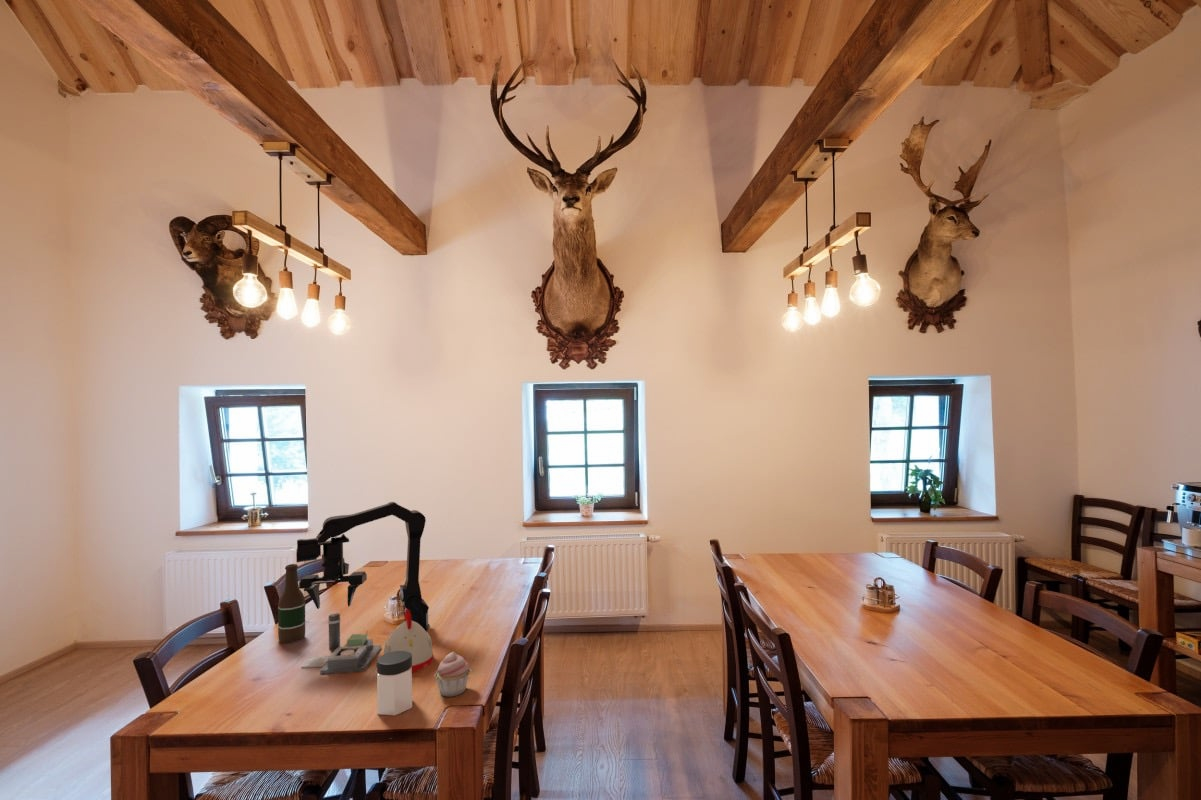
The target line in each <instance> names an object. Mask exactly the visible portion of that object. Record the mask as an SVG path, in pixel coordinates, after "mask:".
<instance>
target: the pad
mask: <svg viewBox="0 0 1201 800" xmlns="http://www.w3.org/2000/svg"><path fill="white" fill-rule="evenodd" d="M328 657H329V656H320V657H319V656H317V657H310V658H309V659H308V660H307V661H306V662H305V663H303V665H302V666H301V669H307V668H321V667H322V668H323V667H324V666H325V665H326V664H327V662H328Z"/></svg>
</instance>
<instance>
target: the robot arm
mask: <svg viewBox="0 0 1201 800" xmlns="http://www.w3.org/2000/svg"><path fill="white" fill-rule="evenodd" d="M390 516H393V517H396V518H397V519H400V521H401V520H402V521H403V522H404V523H405V524H404V525H405V530H406V534H407V535H406V536H407V549H406V550H407V552H406V571H405V573H406V574H405V582H404V584H403V585H402V584H400V585H399V590H400V591H399V596H398V597H399V599H400V601H401V603H402V604H403V606H404V608H405V610H408V609H409V611H410V614H411V619H412V621H414V622H416V623H418V624H419V625H420V626H422V627H423V629H424V630H425V631H426V632H427V631H428V628H429V627H430V623H429V609H430V606H429V605H428V604H427V602H426V601H425V600H424V598H422V590H421V586H420V558H421V539H422V536H423V534H424V530H425V526H426V521H427V520H426V516H425V515H424V514H423V513H422V512H420V511H419V510H417V509H416V510H415V509H413V510H409V509H408V508H406V507H404V506H402V505H400V504H398V503H397V502H395V501H390V502H388V503H386V504H381V505H379V506H375V507H372V508H367V509H366V510H363V511H359V512H356V513H352V514H344V515H343V514H342V515H334V516H330V517H328V518H326V519H324V521H323V523H322V529H321V530H320V532H319V533H317V535H316V537H314V538H305V539H303V538H300V539H299V538H298V539H297V541H296V544H297V545H296V563H304V562H310V561H317V559H318V558H319V557H321V556H322V563H321V567H322V569H323V573H322V574H323V576H321V577H320V576H319V574H318V573H317V574H307V575H305V576H304V577H302V578H301V579H300V580H298V585H299V589H300V590H301V589H302V590H303V591H304V592H306V593H307V595H309V596H310V598H311V599H312V602H313V603H314V605H315V607H316V609H318V610H319V609H320V608H321V607H320V606H321V598H320V587H321V584H322V585H323V584H334V583H336V584H337V583H348V584H349V585H348V586H347V607H350V606H351V604H352V601H353V598H354V595H355V592H356V590H357V588H359V587H360V586H361V585H363V584H364V583H365V582H366V581H367V580H368V576H367V575H368V574H367V573H366V571H353V572H352V573H351V574H350V575H348V574H349V570H350V569H349V568H350V564H349V563H347V562H345V558H344V543H350V539H349V537H347V536H346V535H345V533H346V532H348V531H350V530H352V529H354V528H356V527H358V526H361V525H365V524H367V523H371V522H374V521H377V520H380V519H384V518H388V517H390ZM321 546H322V547H321ZM321 548H322V549H321ZM321 551H322V552H321ZM321 553H322V554H321Z"/></svg>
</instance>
